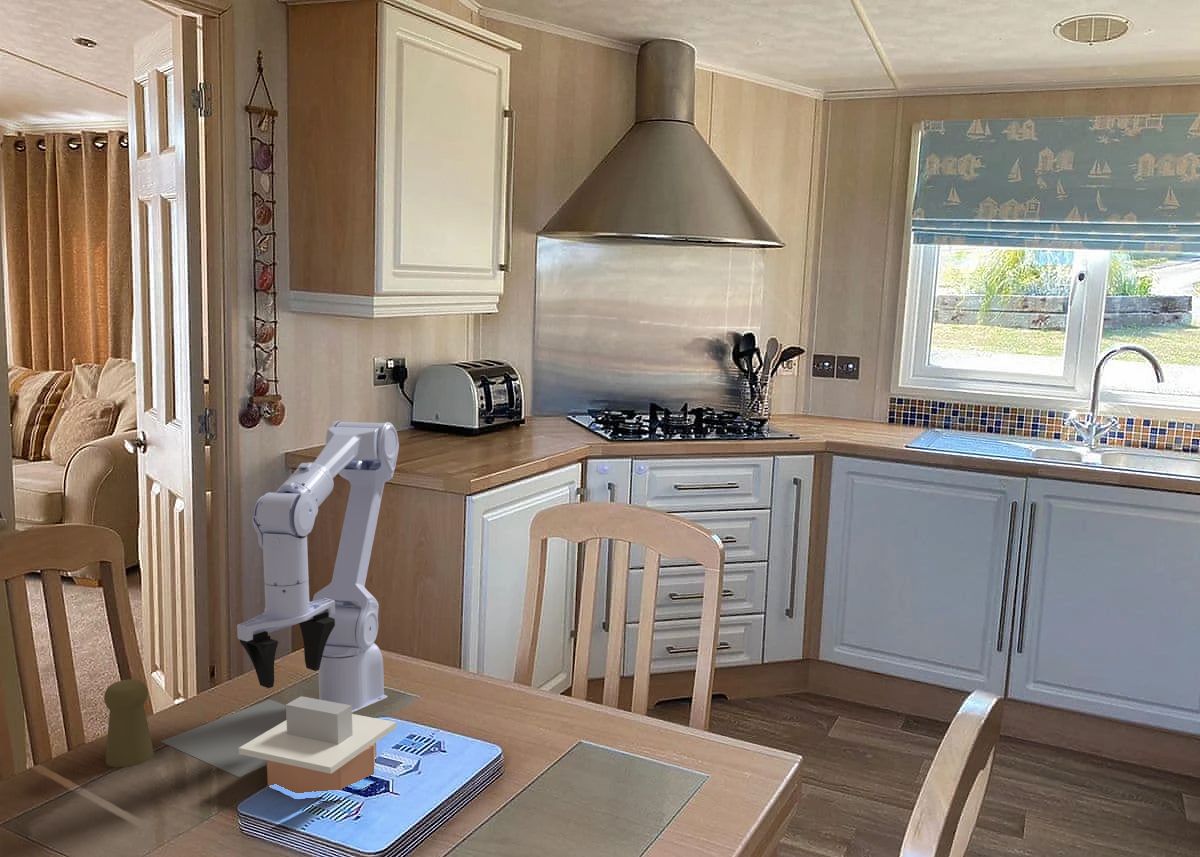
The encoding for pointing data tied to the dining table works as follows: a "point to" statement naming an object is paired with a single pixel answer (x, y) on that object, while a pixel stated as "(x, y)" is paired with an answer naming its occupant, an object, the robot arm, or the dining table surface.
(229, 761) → the mat
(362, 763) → the octagonal ring
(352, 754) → the lid
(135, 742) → the cork
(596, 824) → the dining table surface
